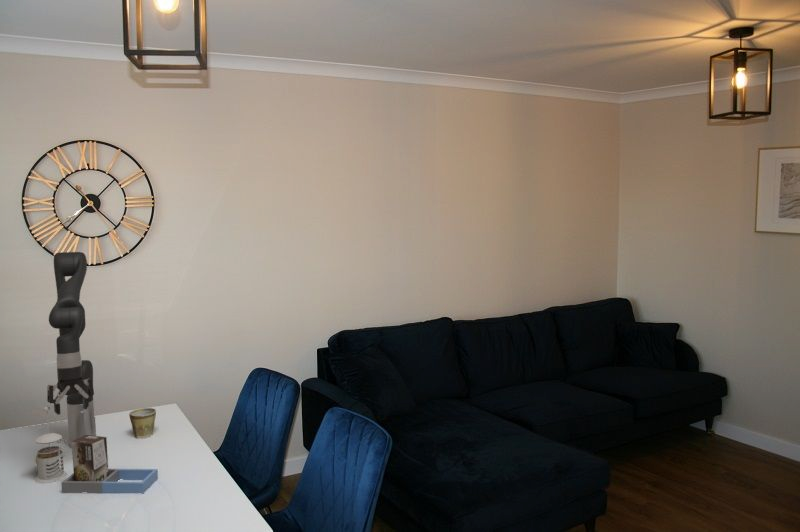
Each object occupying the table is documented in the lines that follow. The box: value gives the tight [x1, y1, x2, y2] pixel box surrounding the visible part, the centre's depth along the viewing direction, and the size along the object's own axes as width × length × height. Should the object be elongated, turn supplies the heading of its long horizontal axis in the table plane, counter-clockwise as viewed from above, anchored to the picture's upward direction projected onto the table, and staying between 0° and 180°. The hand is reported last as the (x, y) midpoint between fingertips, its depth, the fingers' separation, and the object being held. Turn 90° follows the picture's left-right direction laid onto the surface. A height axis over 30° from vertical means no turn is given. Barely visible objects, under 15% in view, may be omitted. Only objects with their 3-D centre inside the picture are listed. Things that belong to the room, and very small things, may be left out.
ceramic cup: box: [128, 407, 157, 439], centre depth 257 cm, size 13×10×10 cm
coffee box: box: [71, 435, 109, 482], centre depth 210 cm, size 9×6×16 cm
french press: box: [34, 405, 69, 484], centre depth 217 cm, size 10×12×25 cm
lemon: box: [35, 452, 52, 467], centre depth 223 cm, size 6×6×8 cm
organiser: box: [60, 468, 159, 495], centre depth 210 cm, size 11×27×4 cm, turn 87°
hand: (71, 411), depth 219 cm, fingers open, 8 cm apart
